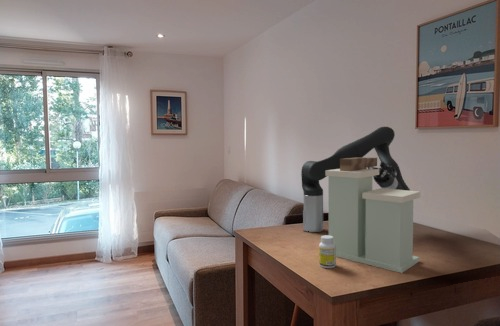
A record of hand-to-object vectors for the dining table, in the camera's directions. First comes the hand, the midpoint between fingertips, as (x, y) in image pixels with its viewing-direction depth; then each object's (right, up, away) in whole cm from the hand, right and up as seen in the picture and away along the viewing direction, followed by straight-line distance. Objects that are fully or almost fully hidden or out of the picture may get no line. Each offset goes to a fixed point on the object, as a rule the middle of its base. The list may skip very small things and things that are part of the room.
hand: (371, 163), depth 146 cm
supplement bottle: (-22, -36, -21) cm, 47 cm away
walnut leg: (-6, -2, -6) cm, 9 cm away
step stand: (-5, -35, -14) cm, 38 cm away
